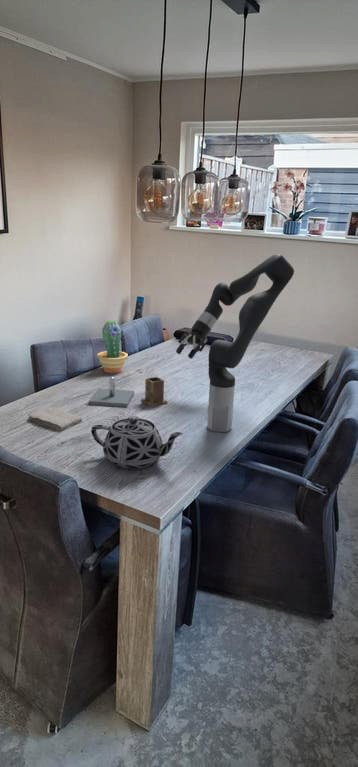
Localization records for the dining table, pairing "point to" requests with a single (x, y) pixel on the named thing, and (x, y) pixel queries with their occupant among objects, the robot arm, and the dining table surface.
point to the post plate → (111, 396)
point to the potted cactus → (112, 348)
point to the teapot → (133, 443)
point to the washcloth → (55, 418)
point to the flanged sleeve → (154, 392)
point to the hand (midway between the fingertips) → (183, 355)
